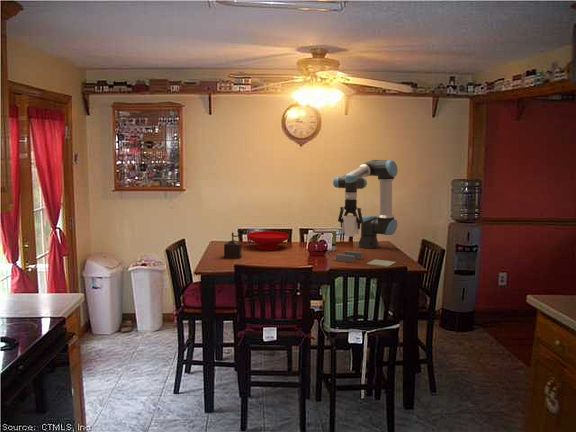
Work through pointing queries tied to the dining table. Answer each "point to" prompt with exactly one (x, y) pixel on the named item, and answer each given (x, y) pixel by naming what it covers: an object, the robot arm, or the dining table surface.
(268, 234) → the bowl
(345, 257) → the clamp
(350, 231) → the foam cup
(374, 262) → the pad
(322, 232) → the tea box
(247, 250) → the dining table surface
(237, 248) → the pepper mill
